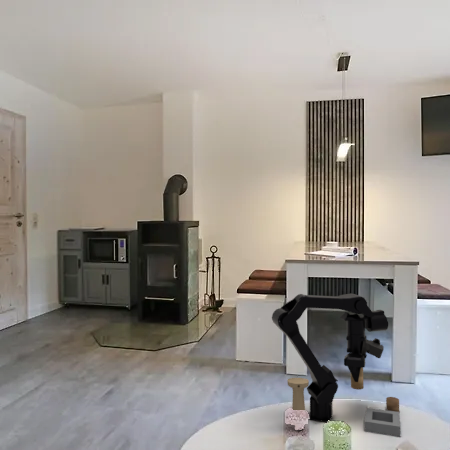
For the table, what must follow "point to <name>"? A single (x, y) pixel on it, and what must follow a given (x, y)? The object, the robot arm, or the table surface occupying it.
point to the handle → (298, 392)
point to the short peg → (392, 404)
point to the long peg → (358, 384)
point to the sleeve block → (382, 422)
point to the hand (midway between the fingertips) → (356, 379)
